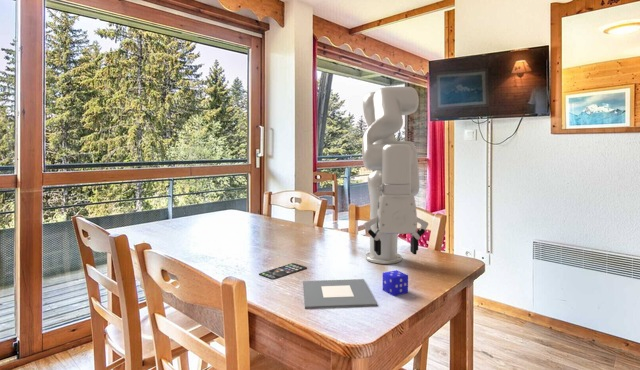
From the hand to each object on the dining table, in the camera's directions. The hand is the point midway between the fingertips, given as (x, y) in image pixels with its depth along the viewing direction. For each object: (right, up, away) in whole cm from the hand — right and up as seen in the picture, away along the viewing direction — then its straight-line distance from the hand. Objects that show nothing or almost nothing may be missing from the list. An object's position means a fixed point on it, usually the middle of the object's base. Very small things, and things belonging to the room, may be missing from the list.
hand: (395, 253), depth 102 cm
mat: (-16, -11, +1) cm, 19 cm away
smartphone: (-32, -10, +19) cm, 39 cm away
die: (0, -11, +2) cm, 11 cm away
